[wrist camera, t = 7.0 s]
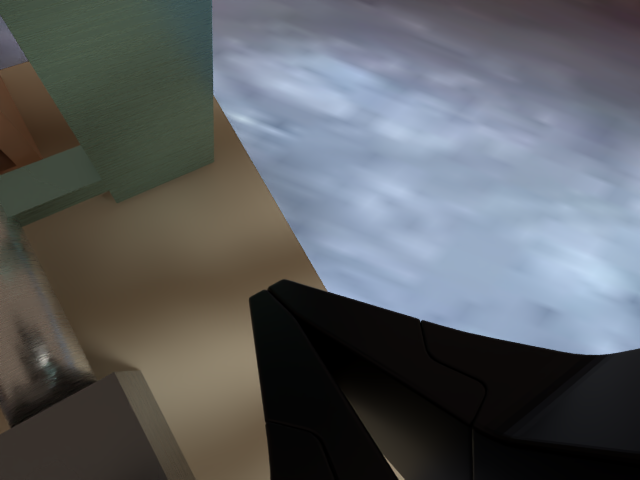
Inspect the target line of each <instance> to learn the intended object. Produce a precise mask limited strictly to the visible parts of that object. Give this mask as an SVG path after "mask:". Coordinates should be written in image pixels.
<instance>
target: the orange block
mask: <svg viewBox="0 0 640 480" xmlns="http://www.w3.org/2000/svg"><path fill="white" fill-rule="evenodd" d="M42 159H43V158H42V156H41V154H40V152H39V150H38V148H37V146H36V144H35V142H34V140H33V138H32V136H31V134H30V132H29V130H28V128H27V126H26V124H25V122H24V120H23V118H22V116H21V114H20V113H19V111H18V109H17V107H16V105H15V103H14V101H13V99H12V97H11V95H10V93H9V91H8V89H7V87H6V85H5V83H4V81H3V79H2V77H1V76H0V175H2V174H5V173H7V172H10V171H13V170H15V169H18V168H21V167H23V166H26V165H29V164H31V163H34V162H37V161H39V160H42Z"/></svg>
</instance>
